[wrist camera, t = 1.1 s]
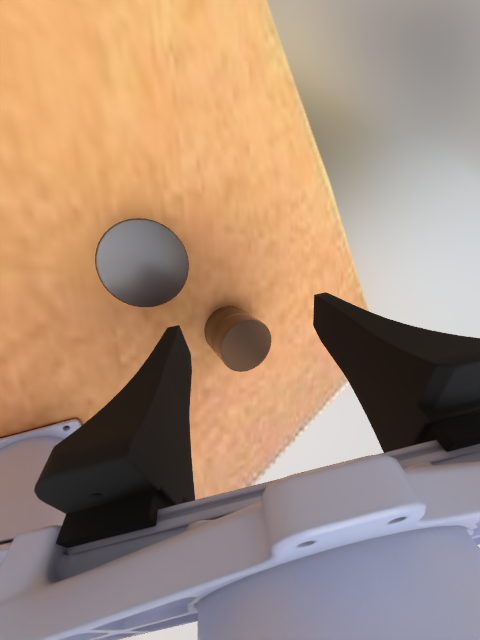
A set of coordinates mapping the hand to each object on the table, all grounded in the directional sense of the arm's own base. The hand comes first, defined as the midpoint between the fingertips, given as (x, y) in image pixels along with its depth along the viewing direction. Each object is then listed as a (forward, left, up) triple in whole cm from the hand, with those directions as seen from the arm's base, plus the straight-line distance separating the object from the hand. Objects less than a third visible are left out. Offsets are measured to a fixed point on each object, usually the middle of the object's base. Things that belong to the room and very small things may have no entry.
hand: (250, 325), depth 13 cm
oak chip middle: (+4, -5, -10) cm, 11 cm away
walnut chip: (-4, +3, -8) cm, 9 cm away
